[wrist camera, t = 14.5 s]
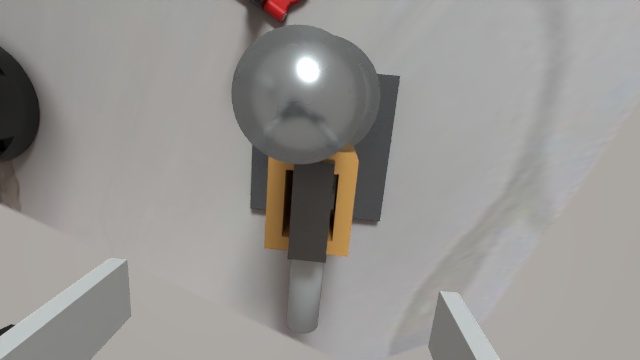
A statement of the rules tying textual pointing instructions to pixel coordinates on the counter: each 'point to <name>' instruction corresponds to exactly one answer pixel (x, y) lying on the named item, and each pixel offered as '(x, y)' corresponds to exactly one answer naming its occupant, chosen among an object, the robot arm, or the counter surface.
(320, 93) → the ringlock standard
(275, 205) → the bracket head
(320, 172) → the wedge
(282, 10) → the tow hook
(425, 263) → the counter surface
